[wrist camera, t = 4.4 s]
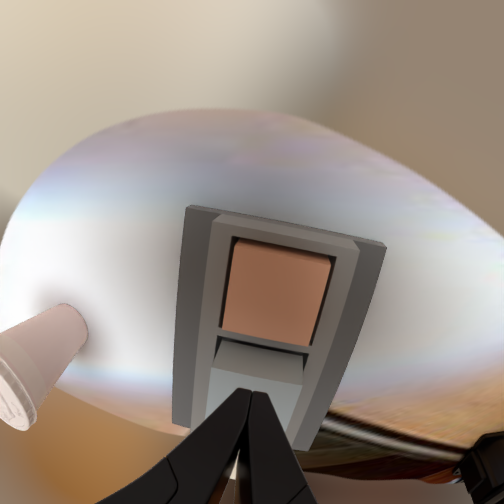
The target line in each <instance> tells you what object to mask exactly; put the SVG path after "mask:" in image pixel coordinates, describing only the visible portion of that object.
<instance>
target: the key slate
mask: <svg viewBox="0 0 504 504" xmlns="http://www.w3.org/2000/svg"><path fill="white" fill-rule="evenodd" d="M302 386H303V356H299V355H294V354H288V353H283V352H277V351H272V350H267V349H262V348H257V347H252V346H248V345H243V344H238V343H234V342H229V341H225V340H222V342H221V344H220V347H219V349H218V352H217V354H216V357H215V359H214V362H213V364H212V367H211V373H210V381H209V389H208V397H207V406H206V414H205V419H206V418H207V417H208V416H209V415H210V414H211V413H212V412H213V411H214V410H215V409H216V408H217V407H218V406H219V405H220V404H221V403H222V402H223V401H224V400H225V399H226V398H227V397H228V396H229V395H230V394H231V393H232V392H233V391H234V390H235V389H236V388H238V387H240V388H245V389H250V390H252V392H253V391H260V392H266V393H267V394H268V395H269V397H270V399H271V402H272V404H273V406H274V409H275V411H276V413H277V416H278V418H279V420H280V422H281V425H282V427H283V429H284V431H285V432H286V429H287V427H288V424H289V422H290V419H291V416H292V414H293V411H294V408H295V406H296V403H297V400H298V398H299V395H300V392H301V389H302Z"/></svg>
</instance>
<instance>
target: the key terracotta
mask: <svg viewBox="0 0 504 504" xmlns="http://www.w3.org/2000/svg"><path fill="white" fill-rule="evenodd" d="M330 267H331V264H330V261H329V258H328V255H327V254H323V253H318V252H313V251H308V250H303V249H298V248H293V247H288V246H283V245H278V244H273V243H268V242H263V241H258V240H253V239H247V238H242V237H240V239H239V240H238V242H237V243H236V245H235V247H234V253H233V259H232V266H231V272H230V279H229V285H228V292H227V299H226V305H225V312H224V319H223V326H222V330H227V331H231V332H236V333H240V334H245V335H250V336H254V337H259V338H264V339H269V340H274V341H279V342H285V343H290V344H296V345H301V346H307V347H308V345H309V342H310V339H311V335H312V332H313V329H314V325H315V322H316V318H317V315H318V312H319V308H320V304H321V301H322V297H323V294H324V290H325V286H326V283H327V279H328V275H329V271H330Z"/></svg>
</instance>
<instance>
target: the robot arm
mask: <svg viewBox="0 0 504 504" xmlns="http://www.w3.org/2000/svg"><path fill="white" fill-rule="evenodd" d="M238 452H239V453H238ZM237 456H238V459H237ZM236 460H237V466H236V479H235V493H234V504H318V502H317V500H316V498H315V496H314V494H313V492H312V490H311V488H310V486H309V485H307V484H308V482H307V480H306V478H305V476H304V473H303V471H302V469H301V467H300V465H299V462H298V460H297V458H296V456H295V454H294V452H293V449H292V447H291V445H290V443H289V440H288V438H287V436H286V434H285V431H284V429H283V427H282V425H281V422H280V420H279V418H278V416H277V413H276V411H275V409H274V406H273V404H272V402H271V399H270V397H269V395H268V394H267V393H266V392H260V391H253V392H252V390H250V389H245V388H240V387H238V388H236V389H235V390H234V391H233V392H232V393H231V394H230V395H229V396H228V397H227V398H226V399H225V400H224V401H223V402H222V403H221V404H220V405H219V406H218V407H217V408H216V409H215V410H214V411H213V412H212V413H211V414H210V415H209V416H208V417H207V418H206V419H205V420H204V421H203V422H202V423H201V424H200V425H199V426H198V427H197V428H196V429H194V430H193V431H192V432H191V433H190V434H189V435H188V436H187V437H186V438H185V439H184V440H183V441H182V442H180V443H179V444H178V445H177V446H176V447H175V448H174V449H173V450H172V451H171V452H170V453H169V454H167V455H166V457H164V458H163V459H161V460H160V461H159V462H158V463H157V464H156V465H155V466H153V467H152V468H151V469H149V470H148V471H147V472H146V473H144V474H143V475H142V476H140V477H139V478H137V479H136V480H134V481H133V482H131V483H130V484H128V485H127V486H125V487H124V488H122V489H120V490H118V491H117V492H115V493H113V494H111V495H110V496H108V497H106V498H104V499H103V500H101V501H99V502H97V503H95V504H219V503H220V501H221V498H222V496H223V493H224V491H225V488H226V486H227V484H228V481H229V479H230V476H231V474H232V471H233V468H234V466H235V463H236ZM452 474H453V475H460V474H461V475H462V477H463V480H464V483H465V486H466V488H467V491H468V494H471V497H472V500H473V503H474V504H504V432H501V433H495V434H487V435H484V436H482V437H481V438H480V440H479V441H478V442H477V443H476V445H475V446H474V447H473V448H472V449H471V451H470V452H469V453H468V454H467V455H466V456H465V458H464V459H463V460H462V461H461V462H460V463H459V464H458V466H457V467H456V468H455V469H454V470H453V471H452Z"/></svg>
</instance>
